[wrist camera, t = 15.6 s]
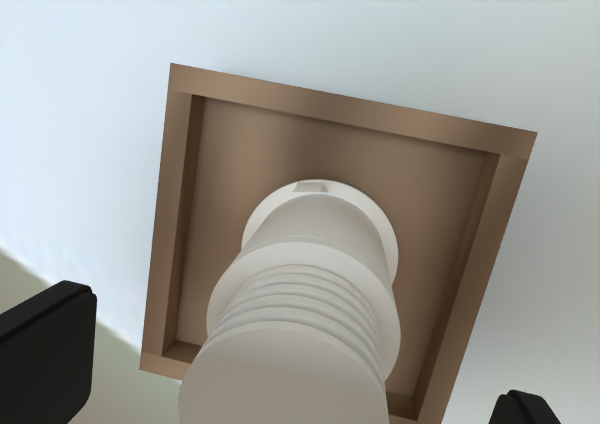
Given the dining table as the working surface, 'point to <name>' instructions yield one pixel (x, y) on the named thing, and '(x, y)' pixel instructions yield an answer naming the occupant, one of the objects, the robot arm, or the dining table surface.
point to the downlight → (301, 315)
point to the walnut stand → (342, 168)
